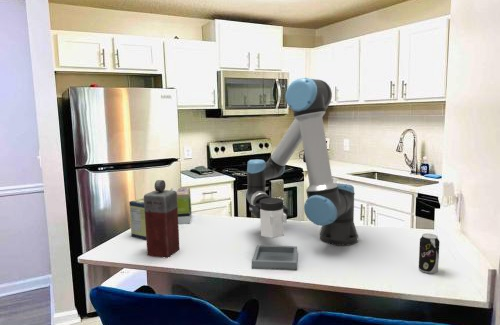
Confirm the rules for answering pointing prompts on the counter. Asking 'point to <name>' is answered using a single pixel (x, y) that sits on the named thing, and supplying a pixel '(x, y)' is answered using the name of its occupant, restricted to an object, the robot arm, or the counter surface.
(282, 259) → the tray
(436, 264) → the beverage can
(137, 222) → the protein box
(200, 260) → the counter surface
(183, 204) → the tea box
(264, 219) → the jar
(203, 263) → the counter surface
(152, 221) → the red square bottle
